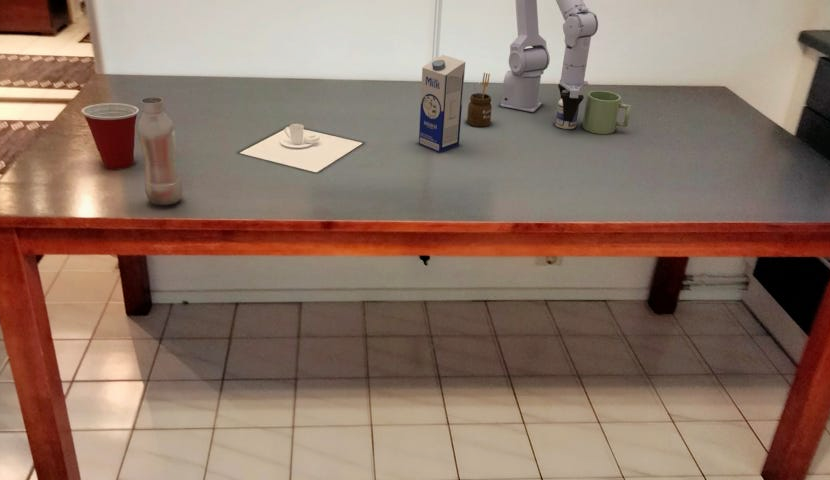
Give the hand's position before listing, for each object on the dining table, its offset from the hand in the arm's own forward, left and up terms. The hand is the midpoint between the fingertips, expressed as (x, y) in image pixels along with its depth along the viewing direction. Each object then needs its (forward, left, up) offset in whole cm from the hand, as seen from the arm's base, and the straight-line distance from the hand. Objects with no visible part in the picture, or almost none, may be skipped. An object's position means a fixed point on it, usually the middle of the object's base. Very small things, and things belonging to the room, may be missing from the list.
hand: (566, 117), depth 193 cm
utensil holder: (-20, -10, -2) cm, 22 cm away
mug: (+9, +3, -2) cm, 10 cm away
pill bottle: (0, 0, -3) cm, 3 cm away
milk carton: (-23, -29, -2) cm, 37 cm away
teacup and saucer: (-49, -47, -2) cm, 68 cm away
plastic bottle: (-57, -84, -2) cm, 101 cm away
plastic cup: (-77, -74, -2) cm, 107 cm away
